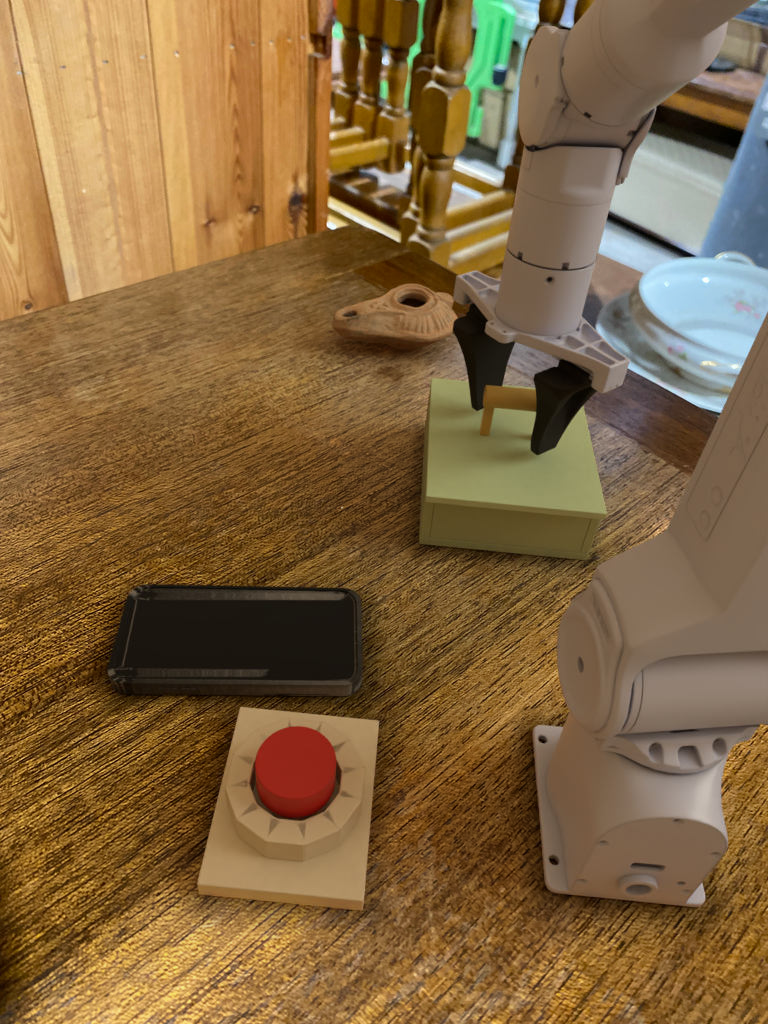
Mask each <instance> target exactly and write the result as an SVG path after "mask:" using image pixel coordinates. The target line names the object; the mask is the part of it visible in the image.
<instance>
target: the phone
mask: <svg viewBox="0 0 768 1024" xmlns="http://www.w3.org/2000/svg"><path fill="white" fill-rule="evenodd" d="M362 617H363V615H362V599H361V595H359V593H358V592H357V591H355V590H353V589H351V588H347V587H317V586H316V587H315V586H314V587H312V586H310V587H309V586H308V587H307V586H263V585H260V586H259V585H258V586H257V585H208V584H207V585H206V584H165V583H164V584H163V583H161V584H159V583H158V584H157V583H147V584H141V585H138V586H135V587H134V588H132V589H131V590H130V591H129V593H127V596H126V600H125V604H124V606H123V610H122V614H121V618H120V621H119V624H118V628H117V632H116V636H115V638H114V643H113V647H112V650H111V653H110V657H109V661H108V664H107V675H108V679H109V682H110V685H111V688H112V689H113V690H114V691H115V692H117V693H119V694H123V695H154V696H155V695H157V696H158V695H159V696H160V695H166V696H167V695H168V696H173V695H174V696H265V697H266V696H267V697H268V696H273V697H275V696H276V697H278V696H279V697H280V696H281V697H282V696H283V697H288V696H289V697H346V696H347V697H348V696H351V695H353V694H355V693H356V692H357V691H359V689H360V688H361V687H362V681H363V671H364V666H363V663H364V661H363V621H362V620H363V619H362Z"/></svg>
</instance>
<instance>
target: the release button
mask: <svg viewBox="0 0 768 1024" xmlns="http://www.w3.org/2000/svg"><path fill="white" fill-rule="evenodd" d="M255 773H256V786H257V792H258V795H259V797H260V799H261V801H262V802H263V804H264V805H265V806H266V807H267V808H268V809H269V810H271V811H272V812H274V813H276V814H278V815H280V816H283V817H288V818H301V817H305V816H308V815H311V814H313V813H315V812H317V811H318V810H320V809H321V808H322V807H323V806H324V805H325V804H326V803H327V802H328V801H329V799H330V797H331V796H332V794H333V791H334V787H335V776H336V754H335V751H334V748H333V746H332V744H331V743H330V742H329V740H328V739H327V738H326V737H325V736H324V735H323V734H321V733H320V732H318V731H316V730H314V729H311V728H308V727H303V726H292V727H287V728H283V729H281V730H278V731H276V732H274V733H273V734H271V735H270V736H269V737H268V738H267V739H266V740H265V741H264V742H263V743H262V744H261V746H260V748H259V750H258V752H257V755H256V759H255Z"/></svg>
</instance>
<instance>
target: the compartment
mask: <svg viewBox="0 0 768 1024" xmlns="http://www.w3.org/2000/svg"><path fill="white" fill-rule="evenodd" d="M430 386H431V384H430V385H429V387H430ZM429 408H430V391H429V392H428V401H427V407H426V417H425V424H424V432H423V433H424V435H423V450H422V451H423V452H422V453H423V455H422V470H421V472H422V473H421V493H420V511H419V532H418V544H419V545H427V546H437V547H445V548H446V547H448V548H456V549H457V548H458V549H466V550H467V549H468V550H476V551H477V550H478V551H486V552H487V551H488V552H496V553H497V552H499V553H507V554H508V553H509V554H517V555H527V556H539V557H548V558H557V559H558V558H559V559H566V560H567V559H569V560H578V561H587V560H588V558H589V555H590V552H591V549H592V546H593V543H594V540H595V538H596V535H597V531H598V529H599V525H600V524H601V519H591V518H581V517H571V516H561V515H550V514H540V513H530V512H520V511H510V510H500V509H489V508H479V507H469V506H459V505H449V504H439V503H429V502H425V497H426V475H427V452H428V430H429Z"/></svg>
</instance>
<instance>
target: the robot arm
mask: <svg viewBox="0 0 768 1024" xmlns="http://www.w3.org/2000/svg"><path fill="white" fill-rule="evenodd" d="M759 1H760V0H594V1H593V2H592V3H591V5H590V6H589V7H588V8H587V9H586V10H585V11H584V13H583V14H582V15H581V16H580V18H579V19H578V20H577V22H575V24H574V25H573V26H572V28H570V29H565V28H564V29H563V28H559V27H557V26H555V25H541V26H540V27H539V28H538V29H537V31H536V33H535V35H534V36H533V38H532V40H531V42H530V44H529V46H528V49H527V52H526V54H525V58H524V61H523V65H522V70H521V76H520V82H519V89H518V98H517V99H518V101H517V120H518V121H517V123H518V130H519V135H520V139H521V141H522V143H523V144H524V145H523V150H522V155H521V162H520V167H519V174H518V179H517V183H516V190H515V195H514V201H513V206H512V213H511V218H510V223H509V228H508V234H507V240H506V246H505V251H504V252H505V253H504V255H503V256H504V257H503V262H502V267H501V274H500V278H499V279H497V278H494V277H491V276H489V275H487V274H484V273H482V272H481V271H479V270H476V269H475V270H472V271H468V272H465V273H461V274H457V275H456V276H455V282H454V289H453V296H452V297H453V300H454V302H455V303H457V304H459V305H460V306H466V305H469V307H468V311H467V312H466V313H465V315H463V316H460V317H458V319H456V320H455V321H454V323H453V334H454V336H455V338H456V340H457V342H458V344H459V347H460V349H461V353H462V356H463V359H464V364H465V368H466V373H467V381H469V389H470V398H471V405H472V408H473V409H475V410H476V411H479V410H481V409H484V406H483V396H484V389H485V386H486V385H493V386H502V385H504V384H503V383H504V380H505V376H506V372H507V367H508V363H509V361H510V357H511V355H512V352H513V350H514V347H515V344H516V343H517V344H520V345H522V346H525V347H528V348H531V349H534V350H536V351H539V352H542V353H545V354H548V355H549V356H552V357H554V358H555V359H557V360H558V364H557V366H552V367H549V368H547V369H544V370H542V371H539V372H535V374H534V375H533V384H534V388H535V389H536V417H535V423H534V427H533V432H532V436H531V445H530V446H531V451H532V452H533V453H534V454H536V455H540V454H542V453H545V452H547V451H549V450H551V449H553V448H556V446H557V444H558V442H559V440H560V438H561V437H562V435H563V433H564V432H565V430H566V428H567V427H568V425H569V424H570V422H571V421H572V419H573V418H574V416H575V415H576V414H577V412H578V411H579V410H580V409H581V408H582V406H584V405H586V403H587V402H588V401H589V400H590V399H591V398H592V397H593V396H594V395H595V394H596V393H597V392H598V393H599V394H605V393H607V392H610V391H614V390H616V389H617V388H620V387H621V386H623V385H624V381H625V378H626V375H627V372H628V369H629V365H630V362H631V359H630V358H628V357H627V356H625V355H624V354H622V353H621V352H619V351H618V350H616V349H615V348H614V347H613V346H612V345H611V344H610V343H609V342H608V341H607V340H606V339H605V338H604V337H603V336H602V335H601V334H600V333H599V332H598V330H596V329H595V328H594V327H593V326H592V325H591V324H590V323H589V322H588V321H587V320H586V319H585V317H584V316H583V313H584V307H585V305H586V300H587V296H588V293H589V289H590V286H591V281H592V278H593V274H594V270H595V266H596V262H597V259H598V255H599V250H600V246H601V243H602V239H603V235H604V231H605V228H606V224H607V220H608V215H609V212H610V208H611V204H612V200H613V197H614V193H615V190H616V186H617V187H618V186H620V185H623V184H625V183H624V182H625V181H626V179H627V178H628V177H629V174H630V169H631V166H632V162H633V159H634V157H635V154H636V152H637V151H638V149H639V147H640V146H641V145H642V144H643V142H644V140H646V137H647V135H648V133H649V131H650V129H651V126H652V124H653V121H654V119H655V115H656V112H657V107H658V106H660V105H661V104H662V103H663V102H665V101H666V100H668V99H669V98H670V97H671V96H672V95H674V94H675V93H677V92H679V90H681V89H682V88H683V87H685V86H686V85H688V84H689V83H690V82H691V81H693V80H695V79H696V78H697V77H699V76H700V75H701V74H703V73H704V72H705V71H706V70H707V69H708V68H709V67H710V66H711V64H713V62H714V61H715V59H716V58H717V57H718V55H719V53H720V51H721V49H722V47H723V45H724V42H725V39H726V35H727V31H728V27H729V21H730V20H732V19H734V18H735V17H736V16H738V15H740V14H741V13H742V12H745V10H747V9H749V8H750V7H752V6H753V5H754V4H757V3H758V2H759ZM713 426H714V427H713V429H712V431H711V433H710V435H709V437H708V439H707V441H706V444H705V446H704V448H703V450H702V452H701V454H700V457H699V459H698V461H697V463H696V465H695V466H694V469H693V471H692V474H691V476H690V478H689V480H688V483H687V485H686V486H685V489H684V491H683V494H682V495H681V497H680V500H679V502H678V504H677V506H676V508H675V510H674V513H673V514H672V517H671V519H670V522H669V524H668V526H667V528H666V529H665V530H664V531H662V532H660V533H659V534H656V535H654V536H652V537H651V538H649V539H647V540H645V541H643V542H640V543H639V544H637V545H635V546H632V547H631V548H628V549H626V550H624V551H623V552H620V553H619V554H616V555H615V556H612V557H610V558H609V559H606V560H605V561H603V562H601V563H600V564H599V565H597V566H596V568H595V569H594V573H593V574H592V578H591V580H590V581H589V584H588V586H587V587H586V589H585V590H583V591H582V592H580V593H579V594H577V595H575V597H573V598H572V600H570V603H569V604H568V606H567V607H566V609H565V611H564V613H563V614H562V617H560V618H561V619H560V621H559V625H558V630H557V636H556V665H557V673H558V675H557V676H558V679H559V684H560V689H561V693H562V696H563V699H564V702H565V704H566V707H567V710H568V711H569V712H568V715H567V716H566V719H565V722H564V725H563V726H558V725H547V724H537V725H536V726H534V727H533V729H532V734H531V735H532V747H533V758H534V760H533V761H534V772H535V782H536V783H535V784H536V796H537V805H538V806H537V807H538V816H539V817H538V820H539V830H540V839H541V840H540V842H541V843H540V844H541V853H542V867H543V868H542V869H543V877H544V878H543V879H544V885H545V887H546V888H547V890H548V891H550V892H551V893H554V894H561V895H571V896H581V897H590V898H591V897H592V898H599V899H602V898H603V899H611V900H620V901H629V902H630V901H631V902H640V903H650V904H659V905H660V904H661V905H668V906H669V905H672V906H679V907H689V908H699V907H701V906H702V905H703V904H704V903H705V901H706V893H705V888H704V885H703V882H704V881H705V879H707V877H708V876H709V874H710V873H711V872H712V871H713V869H714V868H715V867H716V865H718V863H719V862H720V860H721V859H722V858H723V857H724V855H725V854H726V853H727V851H728V847H729V837H728V831H727V826H726V822H725V816H724V811H723V805H722V803H723V802H722V783H723V776H724V770H725V766H726V763H727V760H728V757H729V755H730V753H731V750H732V749H733V748H734V747H735V746H736V745H738V744H740V743H743V742H748V741H750V740H751V739H752V737H753V736H754V734H755V733H756V732H757V730H758V729H759V727H760V726H761V725H764V726H768V311H767V312H766V314H765V317H764V319H763V321H762V323H761V326H760V328H759V329H758V332H757V334H756V336H755V337H754V341H753V342H752V345H751V347H750V349H749V351H748V353H747V355H746V357H745V359H744V362H743V364H742V366H741V368H740V371H739V373H738V374H737V377H736V379H735V382H734V383H733V385H732V388H731V390H730V392H729V394H728V396H727V399H726V401H725V403H724V404H723V407H722V409H721V411H720V413H719V416H718V418H717V420H716V422H715V425H713ZM540 740H543V741H544V743H543V742H541V741H540ZM550 859H553V860H554V861H556V863H557V864H552V862H550Z"/></svg>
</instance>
